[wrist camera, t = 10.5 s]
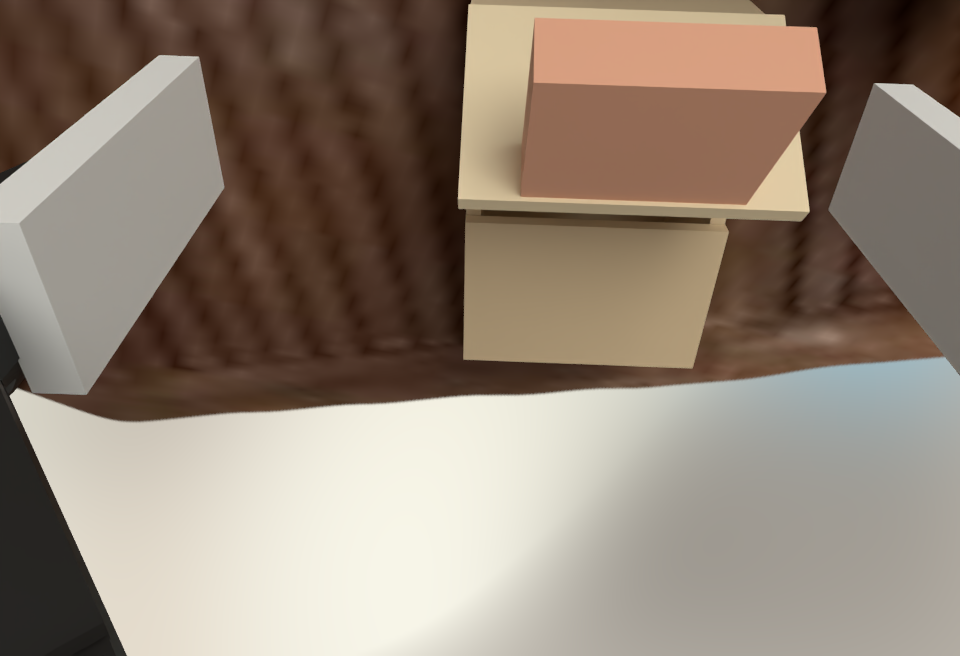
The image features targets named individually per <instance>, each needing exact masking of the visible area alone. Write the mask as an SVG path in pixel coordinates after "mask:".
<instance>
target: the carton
mask: <svg viewBox="0 0 960 656" xmlns="http://www.w3.org/2000/svg"><path fill="white" fill-rule="evenodd" d="M471 4H477V5H507V6H536V7H566V8H595V9H625V10H654V11H683V12H713V13H742V14H764V13H763V12H762V11H761V10H760V9H759V8H758V7H757V6H755V5H754V4H753V3H752V2H751V1H750V0H471ZM725 221H726V219H725V218H698V217H670V216H643V215H615V214H588V213H560V212H533V211H506V210H478V209H466V221H465V283H464V354H463V360H487V361H513V362H539V363H566V364H592V365H618V366H644V367H670V368H693V365H694V361H695V357H696V353H697V350H698V346H699V342H700V338H701V335H702V331H703V327H704V323H705V320H706V316H707V312H708V308H709V305H710V301H711V297H712V293H713V290H714V286H715V282H716V278H717V275H718V271H719V267H720V263H721V260H722V256H723V252H724V248H725V245H726V241H727V237H728V233H729V231H728V229H727V227H726V225H725Z"/></svg>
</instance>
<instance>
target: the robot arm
mask: <svg viewBox="0 0 960 656" xmlns="http://www.w3.org/2000/svg"><path fill="white" fill-rule="evenodd" d="M223 189H224V183H223V178H222V173H221V168H220V163H219V158H218V152H217V147H216V142H215V137H214V132H213V127H212V122H211V116H210V111H209V106H208V101H207V96H206V91H205V86H204V80H203V75H202V70H201V65H200V60H199V57H190V56H164V55H159V56H158V57H156V58H155V59H154V60H153V61H151V62H150V63H149V64H148V65H147V66H145V67H144V68H143V69H142V70H140V71H139V72H138V73H137V74H135V75H134V76H133V77H132V78H130V79H129V80H128V81H127V82H126V83H124V84H123V85H122V86H121V87H119V88H118V89H117V90H116V91H114V92H113V93H112V94H111V95H109V96H108V97H107V98H106V99H105V100H103V101H102V102H101V103H100V104H98V105H97V106H96V107H95V108H93V109H92V110H91V111H90V112H88V113H87V114H86V115H85V116H84V117H82V118H81V119H80V120H79V121H77V122H76V123H75V124H74V125H72V126H71V127H70V128H69V129H67V130H66V131H65V132H64V133H63V134H61V135H60V136H59V137H58V138H56V139H55V140H54V141H53V142H51V143H50V144H49V145H48V146H46V147H45V148H44V149H43V150H42V151H40V152H39V153H38V154H37V155H35V156H34V157H33V158H32V159H30V160H29V161H27V162H25V163H22V164H20V165H18V166H16V167H13V168H11V169H9V170H6V171H4V172H2V173H0V656H127V655H126V653H125V651H124V648H123V646H122V644H121V642H120V640H119V637H118V635H117V633H116V631H115V629H114V626H113V624H112V622H111V620H110V617H109V615H108V613H107V611H106V609H105V607H104V604H103V602H102V600H101V598H100V595H99V593H98V591H97V589H96V587H95V584H94V582H93V580H92V578H91V576H90V573H89V571H88V569H87V567H86V565H85V562H84V560H83V558H82V556H81V553H80V551H79V549H78V547H77V544H76V542H75V540H74V538H73V536H72V533H71V531H70V529H69V527H68V525H67V522H66V520H65V518H64V516H63V514H62V512H61V509H60V507H59V505H58V503H57V500H56V498H55V496H54V494H53V491H52V489H51V487H50V485H49V483H48V480H47V478H46V476H45V474H44V471H43V469H42V467H41V465H40V463H39V460H38V458H37V456H36V454H35V452H34V449H33V447H32V445H31V443H30V440H29V438H28V436H27V434H26V432H25V429H24V427H23V425H22V423H21V421H20V418H19V416H18V414H17V412H16V410H15V407H14V405H13V403H12V401H11V399H10V395H11V394H12V393H13V392H14V391H15V390H16V388H17V387H18V386H19V385H20V384H21V382H22V381H23V380H24V379H25V377H26V380H27V382H28V384H29V386H30V389H31V391H32V393H49V394H79V395H87V393H88V392H89V390H90V389H91V387H92V386H93V384H94V383H95V381H96V380H97V378H98V377H99V375H100V374H101V372H102V371H103V369H104V368H105V366H106V365H107V363H108V362H109V360H110V359H111V357H112V356H113V354H114V353H115V351H116V350H117V348H118V347H119V345H120V344H121V342H122V341H123V339H124V338H125V336H126V335H127V333H128V332H129V330H130V329H131V327H132V326H133V324H134V323H135V321H136V320H137V318H138V317H139V315H140V314H141V312H142V311H143V309H144V308H145V306H146V305H147V303H148V302H149V300H150V299H151V297H152V296H153V294H154V293H155V291H156V290H157V288H158V287H159V285H160V284H161V282H162V281H163V279H164V278H165V276H166V275H167V273H168V272H169V270H170V269H171V267H172V266H173V264H174V263H175V261H176V260H177V258H178V257H179V255H180V254H181V252H182V251H183V249H184V248H185V246H186V245H187V243H188V242H189V240H190V239H191V237H192V235H193V234H194V232H195V231H196V229H197V228H198V226H199V225H200V223H201V222H202V220H203V219H204V217H205V216H206V214H207V213H208V211H209V210H210V208H211V207H212V205H213V204H214V202H215V201H216V199H217V198H218V196H219V195H220V193H221V192H222V190H223ZM829 211H830V213H831V214H832V215H833V216H834V218H835V219H836V220H837V222H838V223H839V224H840V225H841V227H842V228H843V229H844V230H845V232H846V233H847V234H848V235H849V237H850V238H851V239H852V240H853V242H854V243H855V244H856V245H857V247H858V248H859V249H860V250H861V252H862V253H863V254H864V255H865V257H866V258H867V259H868V261H869V262H870V263H871V264H872V266H873V267H874V268H875V269H876V271H877V272H878V273H879V274H880V276H881V277H882V278H883V279H884V281H885V282H886V283H887V284H888V286H889V287H890V288H891V289H892V291H893V292H894V293H895V294H896V296H897V297H898V298H899V299H900V301H901V302H902V303H903V305H904V306H905V307H906V308H907V310H908V311H909V312H910V313H911V315H912V316H913V317H914V318H915V320H916V321H917V322H918V323H919V325H920V326H921V327H922V328H923V330H924V331H925V332H926V333H927V335H928V336H929V337H930V338H931V340H932V341H933V342H934V343H935V345H936V346H937V347H938V349H939V350H940V351H941V352H942V354H943V355H944V356H945V357H946V359H947V360H948V361H949V362H950V364H951V365H952V366H953V367H954V369H955V370H956V371H957V372H958V374H959V375H960V117H958V116H957V115H955V114H954V113H952V112H951V111H950V110H948V109H947V108H945V107H944V106H943V105H941V104H940V103H938V102H937V101H935V100H934V99H933V98H931V97H930V96H928V95H927V94H926V93H924V92H923V91H921V90H920V89H919V88H917V87H916V86H914V85H908V84H883V83H874V85H873V88H872V91H871V93H870V96H869V99H868V102H867V104H866V107H865V110H864V113H863V115H862V118H861V121H860V124H859V126H858V129H857V132H856V135H855V138H854V140H853V143H852V146H851V149H850V151H849V154H848V157H847V160H846V162H845V165H844V168H843V171H842V174H841V176H840V179H839V182H838V185H837V187H836V190H835V193H834V196H833V198H832V201H831V204H830V207H829Z"/></svg>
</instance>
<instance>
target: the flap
mask: <svg viewBox="0 0 960 656" xmlns="http://www.w3.org/2000/svg"><path fill="white" fill-rule="evenodd" d="M825 94H826V87H825V80H824V73H823V66H822V59H821V52H820V45H819V38H818V31H817V27H791V26H786V21H785V15H772V14H742V13H713V12H683V11H654V10H625V9H595V8H566V7H536V6H507V5H477V4H469V7H468V25H467V43H466V61H465V79H464V97H463V115H462V134H461V152H460V170H459V188H458V209H478V210H506V211H533V212H560V213H588V214H615V215H643V216H670V217H698V218H725V219H752V220H780V221H802V220H803V219H804V218H805V216H806V215H807V214H808V213H809V212H810V210H809V203H808V195H807V187H806V179H805V171H804V163H803V155H802V147H801V140H800V132H799V130H800V129H801V128H802V126H803V125H804V123H805V122H806V121H807V119H808V118H809V116H810V115H811V114H812V112H813V111H814V109H815V108H816V107H817V105H818V104H819V102H820V101H821V100H822V98H823V97H824V95H825Z"/></svg>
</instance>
